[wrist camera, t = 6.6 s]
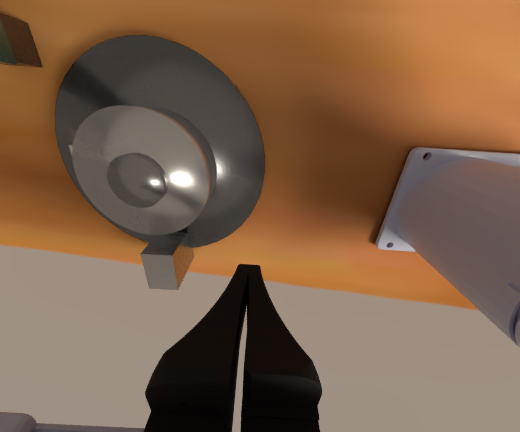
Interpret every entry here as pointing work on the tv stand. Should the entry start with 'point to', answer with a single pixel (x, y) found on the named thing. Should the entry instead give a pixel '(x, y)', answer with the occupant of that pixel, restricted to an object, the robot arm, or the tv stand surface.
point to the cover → (144, 167)
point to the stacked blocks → (17, 43)
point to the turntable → (187, 105)
